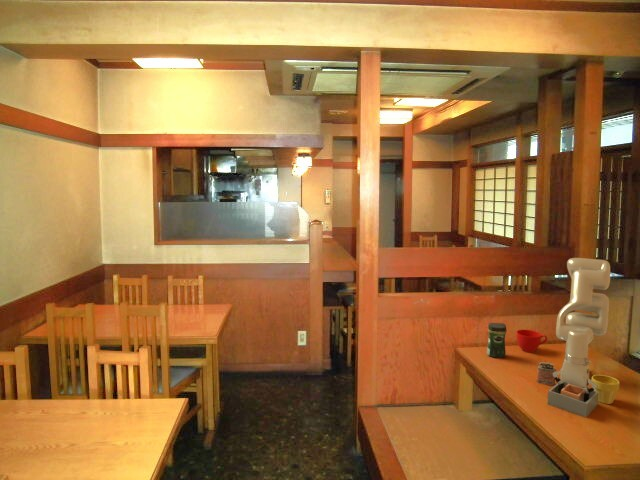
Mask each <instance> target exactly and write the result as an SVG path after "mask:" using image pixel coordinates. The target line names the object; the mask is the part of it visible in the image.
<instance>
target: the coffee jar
mask: <svg viewBox="0 0 640 480" xmlns="http://www.w3.org/2000/svg"><path fill="white" fill-rule="evenodd" d="M487 332H488V342H487V346H486V354H487V356H489V357H492V358H505V357H506V355H507V354H506V334H507V325H506V324H505V323H504V322H488V327H487Z"/></svg>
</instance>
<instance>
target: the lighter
mask: <svg viewBox="0 0 640 480" xmlns="http://www.w3.org/2000/svg"><path fill="white" fill-rule="evenodd" d="M554 365H555V364H554V363H550V362H543V361H542V362H539V364H538V366H537V374H536V375H537V376H536V381H535V382H537V383H538V384H541V383H542V385H548V384H549V386H555V385H556V380H555V379H554V376H553V372H556V371H557V368H555V367H554Z"/></svg>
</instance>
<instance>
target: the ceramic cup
mask: <svg viewBox="0 0 640 480" xmlns="http://www.w3.org/2000/svg"><path fill="white" fill-rule="evenodd" d="M515 337H516V342H517V346H519V348H520V349H521V351H523V352H526V353H534V352H535V351H536V350H537V349H538V348H539V347H540V345H543V344H545V343H546V342H547V340H548V337H547V335H545V334H541V333H540V332H539V331H535V330H532V329H531V330H530V329H518V330H516V336H515ZM542 338H544V340H543V341H542Z"/></svg>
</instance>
